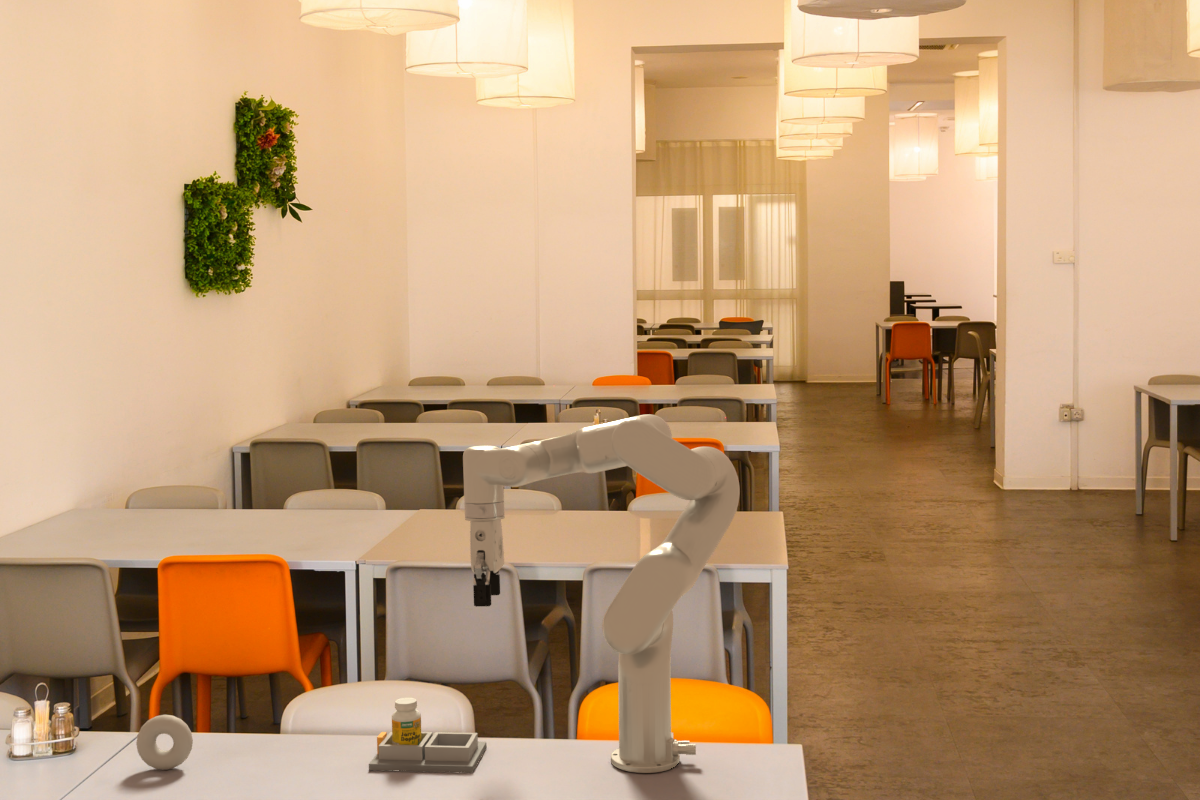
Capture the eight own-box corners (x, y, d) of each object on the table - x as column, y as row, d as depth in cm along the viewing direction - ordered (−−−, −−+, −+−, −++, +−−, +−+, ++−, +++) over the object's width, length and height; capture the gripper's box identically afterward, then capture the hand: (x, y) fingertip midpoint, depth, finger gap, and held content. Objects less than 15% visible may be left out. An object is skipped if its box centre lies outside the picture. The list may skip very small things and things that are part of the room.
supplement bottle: (414, 744, 222) (413, 694, 222) (426, 752, 218) (425, 701, 217) (387, 750, 219) (386, 699, 219) (399, 758, 215) (398, 706, 214)
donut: (196, 765, 216) (194, 711, 216) (190, 771, 213) (188, 717, 213) (141, 766, 216) (139, 712, 216) (134, 773, 213) (132, 718, 212)
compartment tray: (486, 747, 224) (486, 725, 223) (472, 772, 211) (472, 748, 210) (388, 745, 225) (388, 723, 225) (368, 770, 212) (368, 746, 212)
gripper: (496, 517, 215) (499, 610, 215) (511, 504, 232) (514, 590, 233) (455, 518, 215) (458, 610, 216) (473, 505, 232) (476, 591, 233)
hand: (487, 600), depth 224 cm, fingers open, 9 cm apart
